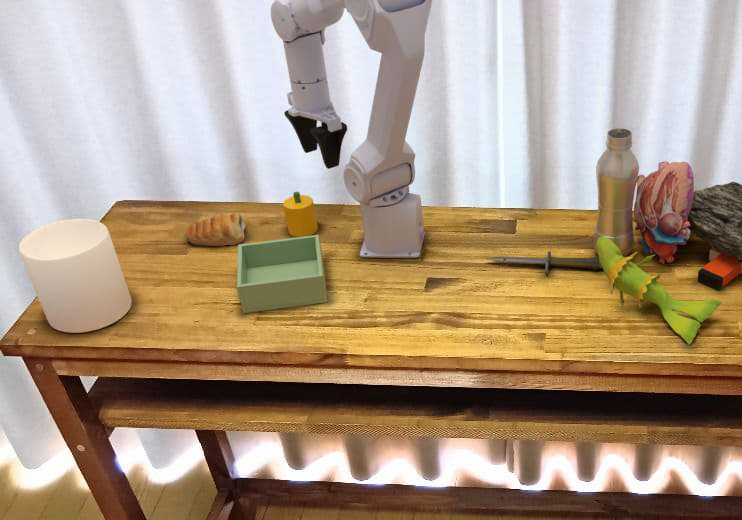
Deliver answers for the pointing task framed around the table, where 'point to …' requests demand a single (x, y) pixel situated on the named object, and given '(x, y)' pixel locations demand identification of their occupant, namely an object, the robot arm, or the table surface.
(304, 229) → the pepper
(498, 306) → the table surface
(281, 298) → the basket
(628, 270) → the toy
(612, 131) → the plastic bottle
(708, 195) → the rock
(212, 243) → the pastry
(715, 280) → the toy
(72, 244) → the cup
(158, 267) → the table surface
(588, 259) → the knife
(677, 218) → the anatomical model
